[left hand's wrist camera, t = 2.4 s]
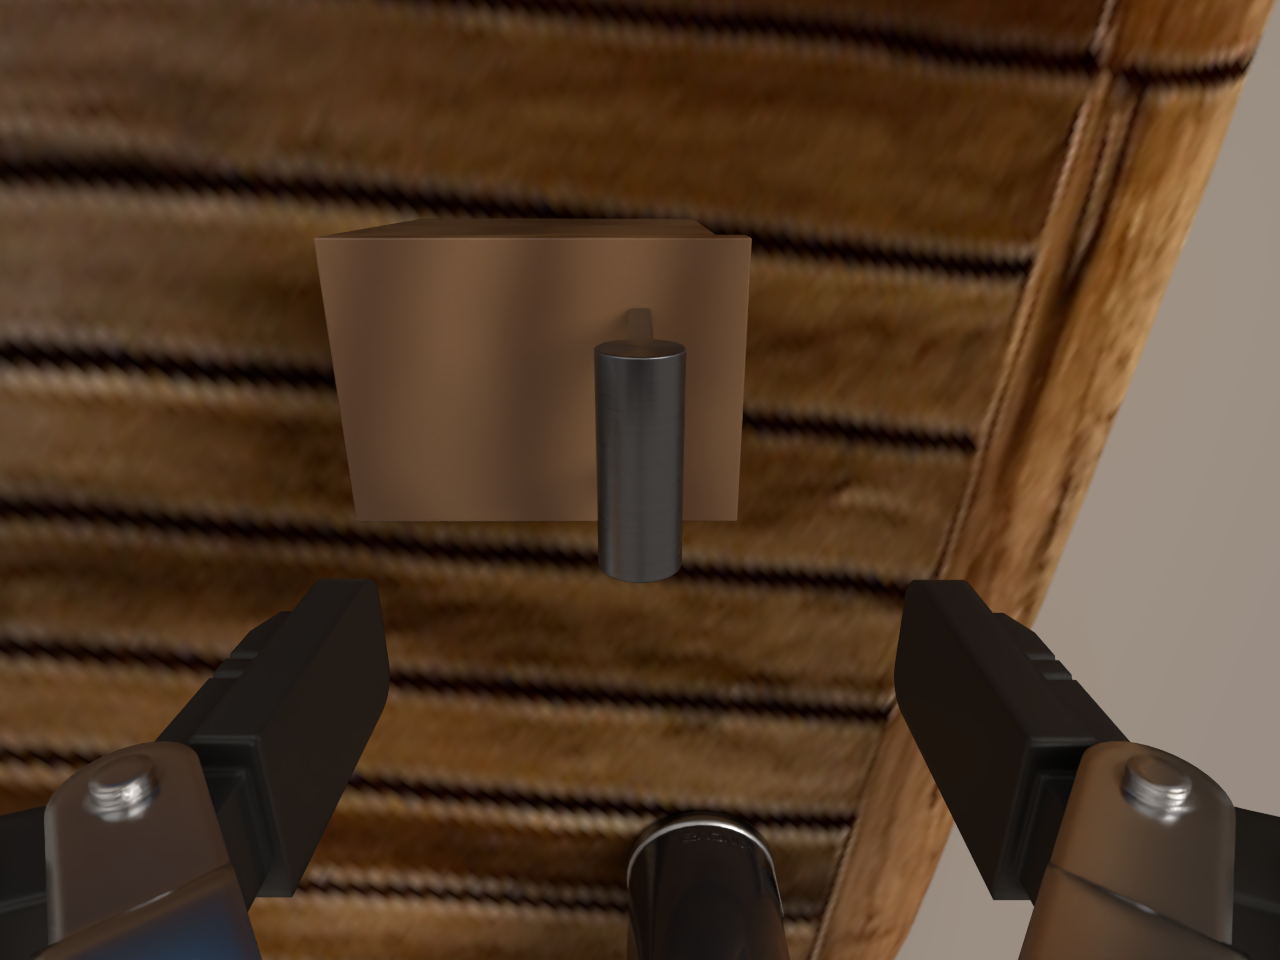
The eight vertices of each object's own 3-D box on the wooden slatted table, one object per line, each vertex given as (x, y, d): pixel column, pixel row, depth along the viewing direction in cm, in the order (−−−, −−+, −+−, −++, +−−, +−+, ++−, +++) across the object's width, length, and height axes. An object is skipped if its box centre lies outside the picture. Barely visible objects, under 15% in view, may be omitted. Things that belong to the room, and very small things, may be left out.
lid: (746, 234, 24) (804, 264, 16) (732, 507, 28) (774, 651, 19) (328, 234, 24) (161, 264, 16) (368, 507, 28) (248, 651, 19)
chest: (693, 218, 34) (716, 234, 24) (688, 418, 38) (706, 506, 28) (421, 218, 34) (329, 234, 24) (441, 418, 38) (368, 506, 28)
